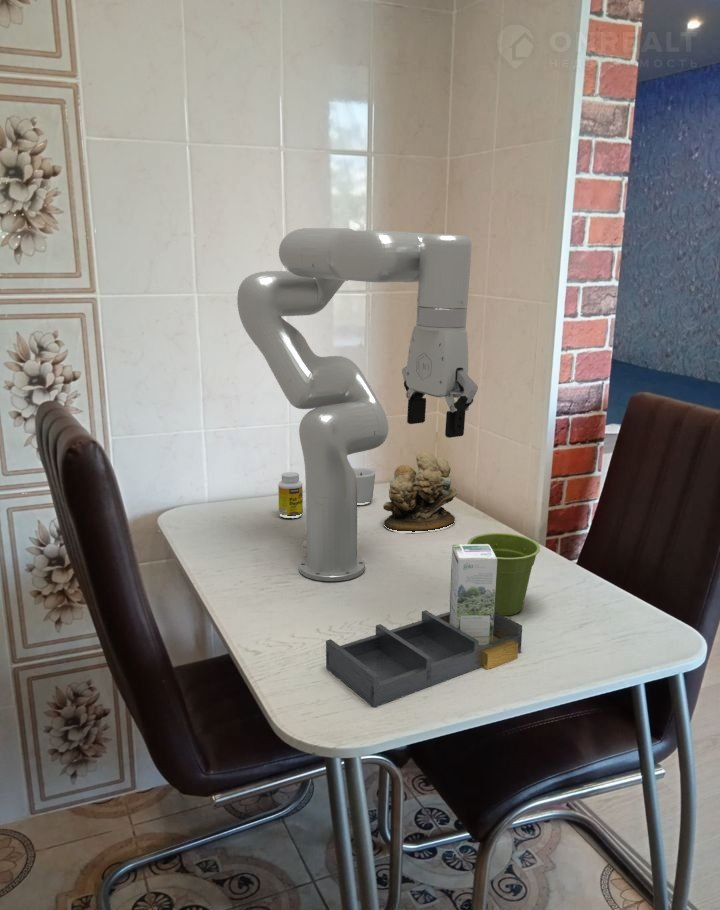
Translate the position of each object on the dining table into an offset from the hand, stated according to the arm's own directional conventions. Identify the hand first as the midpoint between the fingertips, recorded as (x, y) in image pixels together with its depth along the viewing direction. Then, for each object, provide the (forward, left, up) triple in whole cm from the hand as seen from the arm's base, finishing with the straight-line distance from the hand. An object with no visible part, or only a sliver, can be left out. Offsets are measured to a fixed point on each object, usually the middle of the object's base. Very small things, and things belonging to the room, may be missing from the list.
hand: (434, 429), depth 117 cm
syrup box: (+12, -2, -30) cm, 33 cm away
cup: (-59, +23, -31) cm, 70 cm away
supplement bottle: (-58, +5, -31) cm, 66 cm away
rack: (+12, -11, -31) cm, 35 cm away
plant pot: (+5, +11, -31) cm, 34 cm away
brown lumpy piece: (-37, +27, -31) cm, 55 cm away
